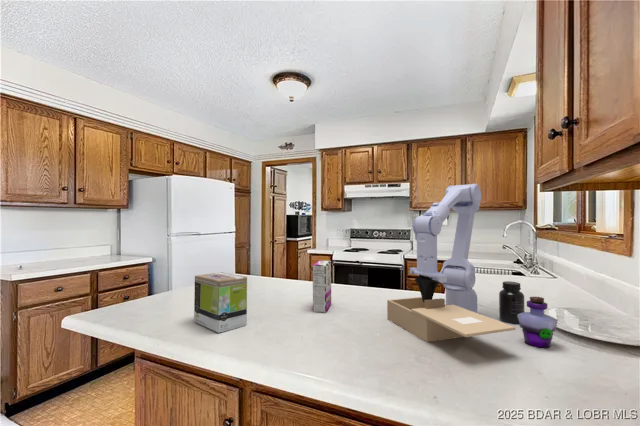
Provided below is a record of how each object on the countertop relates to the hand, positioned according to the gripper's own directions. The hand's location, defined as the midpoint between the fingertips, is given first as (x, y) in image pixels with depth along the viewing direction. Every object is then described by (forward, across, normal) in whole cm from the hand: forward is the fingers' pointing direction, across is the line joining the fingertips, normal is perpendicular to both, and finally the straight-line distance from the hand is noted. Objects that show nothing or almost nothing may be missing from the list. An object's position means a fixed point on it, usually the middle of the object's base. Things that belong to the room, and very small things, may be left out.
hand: (427, 302), depth 93 cm
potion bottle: (+8, +19, +19) cm, 28 cm away
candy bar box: (+8, -29, -23) cm, 38 cm away
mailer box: (+7, -1, 0) cm, 7 cm away
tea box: (+8, -23, -58) cm, 63 cm away
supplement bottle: (+8, +3, +29) cm, 30 cm away
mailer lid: (+1, +13, 0) cm, 13 cm away
